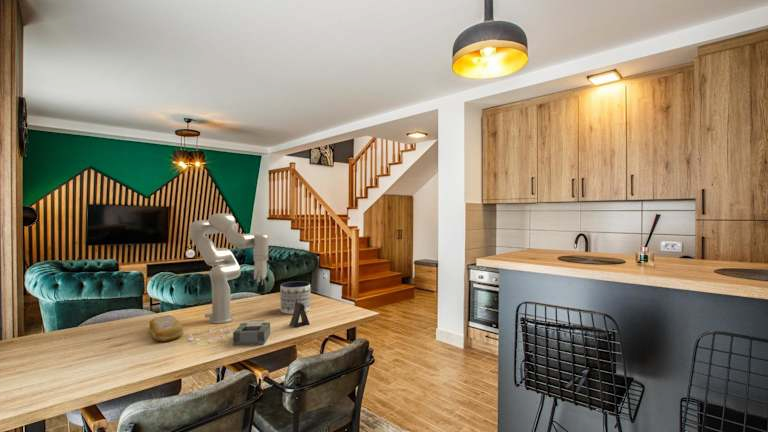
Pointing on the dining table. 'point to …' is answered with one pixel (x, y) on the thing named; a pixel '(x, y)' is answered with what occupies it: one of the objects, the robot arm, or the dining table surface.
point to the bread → (165, 328)
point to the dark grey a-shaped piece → (297, 312)
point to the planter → (294, 296)
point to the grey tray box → (254, 325)
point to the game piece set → (208, 331)
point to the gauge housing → (251, 335)
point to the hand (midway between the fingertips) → (261, 291)
